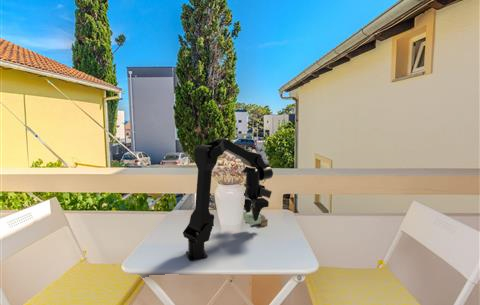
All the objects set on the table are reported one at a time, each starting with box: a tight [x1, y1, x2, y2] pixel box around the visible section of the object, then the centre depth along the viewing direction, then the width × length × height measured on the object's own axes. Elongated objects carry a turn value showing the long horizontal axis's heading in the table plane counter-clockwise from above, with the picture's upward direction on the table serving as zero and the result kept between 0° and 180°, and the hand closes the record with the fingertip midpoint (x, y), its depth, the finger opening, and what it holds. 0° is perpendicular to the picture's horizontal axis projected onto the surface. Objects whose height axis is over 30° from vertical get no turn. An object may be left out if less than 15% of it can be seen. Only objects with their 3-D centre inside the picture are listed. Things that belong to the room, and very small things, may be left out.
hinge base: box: [253, 217, 269, 227], centre depth 134 cm, size 10×6×3 cm, turn 23°
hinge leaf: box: [243, 211, 266, 226], centre depth 123 cm, size 7×8×3 cm
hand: (252, 217), depth 122 cm, fingers closed on hinge leaf, 7 cm apart
